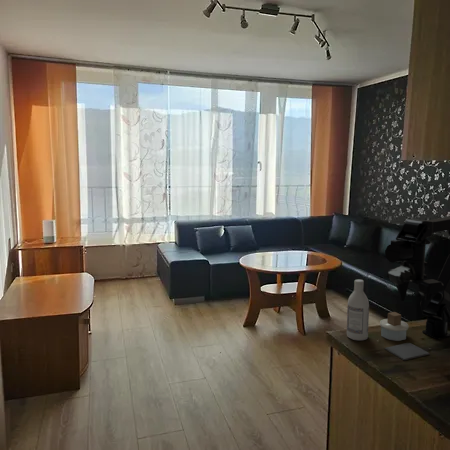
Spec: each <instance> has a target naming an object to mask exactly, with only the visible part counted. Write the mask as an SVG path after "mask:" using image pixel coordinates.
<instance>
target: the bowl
mask: <svg viewBox="0 0 450 450" xmlns="http://www.w3.org/2000/svg"><path fill="white" fill-rule="evenodd" d="M380 328H381V329H380V330H381V331H380V332H381V334H380V335H381V337H383V338H385V339H386V340H389V341H396V342H400V341H404V340H406V339H407V330H406V331H391V330H387V329H384V328H382V327H381V326H380Z"/></svg>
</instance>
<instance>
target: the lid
mask: <svg viewBox="0 0 450 450" xmlns="http://www.w3.org/2000/svg"><path fill="white" fill-rule="evenodd" d="M379 326H380V328H381V327H382V328H384V329H387V330H391V331H406V332H407V331H408V330H409V324H408V323H407V322H406V321H404V320H402V314H400V313H398V312H396V311H391V312H387V318H384V319H381V320H380V321H379Z"/></svg>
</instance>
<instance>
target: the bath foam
mask: <svg viewBox="0 0 450 450" xmlns="http://www.w3.org/2000/svg"><path fill="white" fill-rule="evenodd" d="M353 283H354V284H353V285H354V287H353V291H352V293H351V294H350V295H349V297H348V299H347V306H346V307H347V309H346V311H347V312H346V316H347V317H346V336H347V337H348V338H349V339H351V340H354V341H358V342H359V341H365V340H367V339H368V338H369V319H370V303H369V302H370V301H369V299H368V296H367V295H366V293H365V291H364V284H365V282H364V280H363V279H359V278H358V279H355V280H354V282H353Z"/></svg>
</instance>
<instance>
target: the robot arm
mask: <svg viewBox="0 0 450 450" xmlns="http://www.w3.org/2000/svg"><path fill="white" fill-rule="evenodd" d="M446 231H447V234H448V235H449V236H450V215H449V216H448V215H447V216H445V217H439V218H434V219H433V218H432V219H428V220H426V219H425V220H424V219H415V218H407V219H406V220H405V222H404V223H403V225H402V227H401V228H400V229H399V232H398V234H397V236H396V237H395V239H393V240H392V239H391V240H390V244H387V246H386V248H385V250H384V256H385V258H386V259H387V261H389V262H390V263H394V264H395V263H399V262H401V263H400V266H397V267H395V268H390V269H388V271H387V276H386V277H387V278H388V279H389V280H390V283H393V284H394V285H395V287H396V290H397V293H398V296H399V299H400V301H401V302H402V301H405V299H406V297H407V293H408V288H409V284H410V282H411V283H414V284H416V285H418V290H417V292H418V293H419V294H420V302H419V304H420V309H421V314H422V315H423V316H426V321H425V329H424V330H422V333H423V334H426V335H427V336H430V337H432V338H434V339H436V340H442V339H446V338H449V337H450V333H448V328H449V327H448V326H449V325H448V324H449V323H450V253H449V254H448V256H447V258H446V260H445V263H444V264H443V266H442V269H441V271H440V274H439V276H438V278H437V280H436V279H433V278H431V279H427V278H428V274H425V267H426V266H428V264H429V262H427V261H426V245H431V241H430V240H429V239H428V238H430V237H432V236H433V234H435V233H438V232H439V233H441V232H446Z"/></svg>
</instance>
